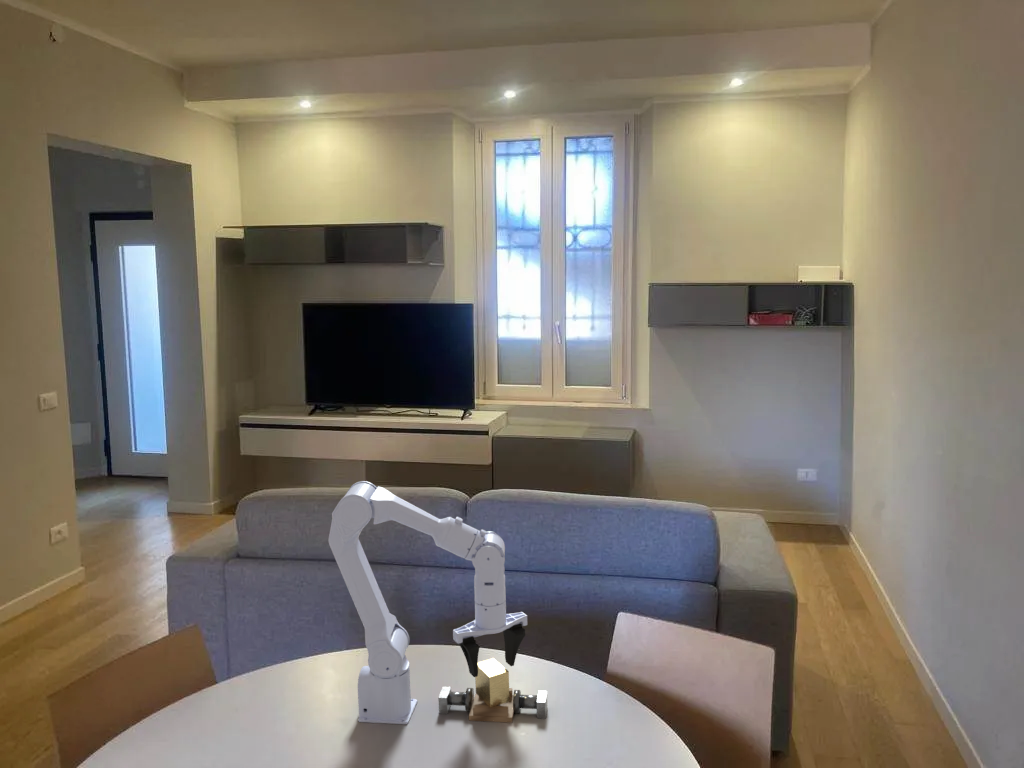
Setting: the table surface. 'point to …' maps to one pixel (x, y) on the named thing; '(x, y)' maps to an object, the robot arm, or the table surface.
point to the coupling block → (492, 682)
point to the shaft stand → (496, 713)
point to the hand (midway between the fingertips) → (491, 669)
